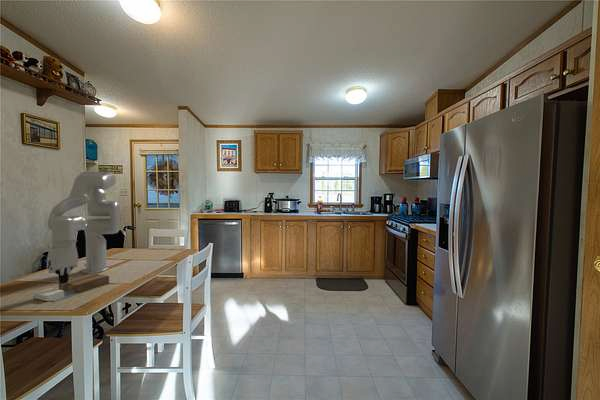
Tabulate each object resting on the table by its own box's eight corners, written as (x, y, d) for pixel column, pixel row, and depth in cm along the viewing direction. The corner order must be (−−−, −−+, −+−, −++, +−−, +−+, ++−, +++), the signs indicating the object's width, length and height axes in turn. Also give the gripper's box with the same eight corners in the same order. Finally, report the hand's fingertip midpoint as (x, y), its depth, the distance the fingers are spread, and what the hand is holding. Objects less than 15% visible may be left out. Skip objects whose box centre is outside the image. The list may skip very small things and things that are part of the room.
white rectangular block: (51, 288, 116) (51, 293, 116) (34, 293, 110) (34, 298, 110) (64, 290, 113) (64, 295, 113) (47, 295, 107) (47, 301, 107)
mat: (33, 296, 112) (33, 296, 112) (58, 289, 121) (58, 288, 121) (53, 301, 107) (53, 301, 107) (78, 294, 116) (78, 293, 116)
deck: (58, 289, 120) (58, 281, 120) (91, 280, 134) (90, 272, 134) (77, 293, 116) (77, 285, 116) (109, 283, 129) (108, 276, 129)
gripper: (76, 240, 124) (77, 276, 125) (37, 246, 110) (37, 287, 111) (86, 241, 122) (87, 278, 122) (47, 247, 108) (48, 289, 108)
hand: (63, 282), depth 116 cm, fingers closed
